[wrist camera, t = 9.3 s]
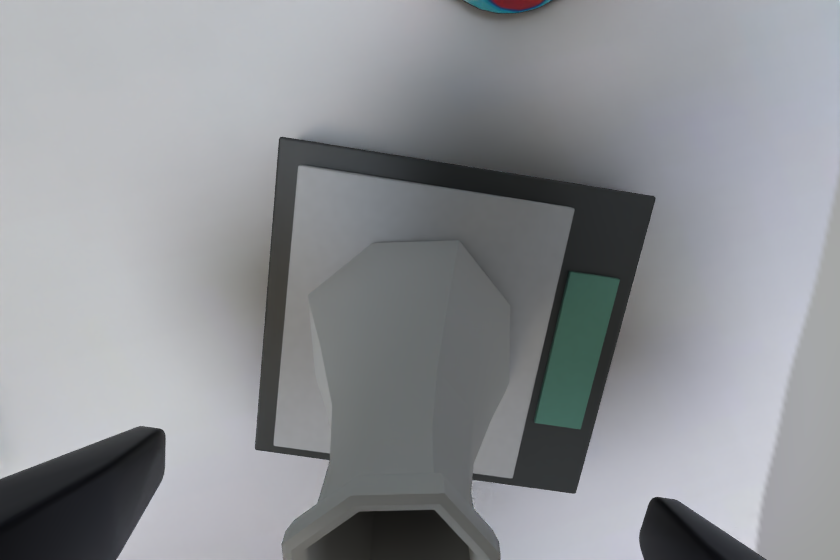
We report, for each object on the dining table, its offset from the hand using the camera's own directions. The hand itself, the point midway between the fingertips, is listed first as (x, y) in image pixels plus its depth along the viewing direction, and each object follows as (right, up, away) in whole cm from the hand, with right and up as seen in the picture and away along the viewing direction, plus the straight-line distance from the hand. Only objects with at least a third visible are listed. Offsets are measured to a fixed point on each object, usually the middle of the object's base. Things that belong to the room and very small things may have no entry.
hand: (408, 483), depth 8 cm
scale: (+1, +2, +10) cm, 11 cm away
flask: (0, +2, +8) cm, 8 cm away
